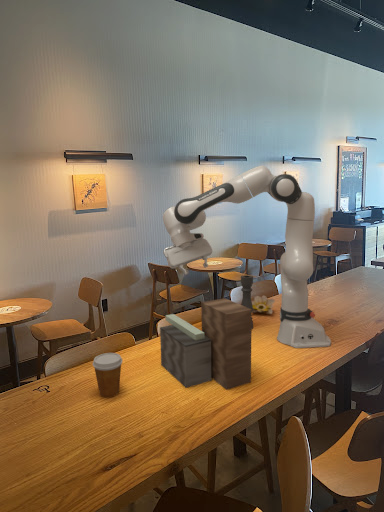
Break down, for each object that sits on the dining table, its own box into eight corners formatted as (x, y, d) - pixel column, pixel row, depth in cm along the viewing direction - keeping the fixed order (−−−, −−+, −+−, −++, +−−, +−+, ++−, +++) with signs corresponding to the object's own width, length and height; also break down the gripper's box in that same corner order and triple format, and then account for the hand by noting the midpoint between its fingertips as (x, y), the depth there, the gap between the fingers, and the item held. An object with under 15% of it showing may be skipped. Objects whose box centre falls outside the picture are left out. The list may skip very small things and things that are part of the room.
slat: (165, 320, 151) (165, 315, 151) (173, 318, 153) (173, 313, 152) (195, 340, 130) (195, 334, 130) (204, 338, 132) (204, 332, 132)
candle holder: (242, 330, 180) (243, 278, 176) (237, 326, 186) (238, 275, 182) (255, 329, 182) (255, 277, 178) (249, 324, 188) (250, 274, 184)
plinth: (202, 370, 141) (201, 302, 136) (224, 364, 145) (224, 298, 141) (226, 389, 127) (226, 314, 123) (250, 382, 132) (251, 309, 127)
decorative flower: (242, 312, 202) (245, 293, 202) (246, 311, 212) (249, 293, 213) (271, 317, 197) (273, 297, 197) (274, 315, 207) (276, 297, 208)
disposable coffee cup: (111, 382, 133) (109, 349, 131) (129, 391, 127) (128, 357, 125) (88, 393, 126) (86, 359, 124) (106, 403, 120) (104, 367, 118)
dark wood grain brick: (161, 365, 146) (160, 327, 143) (184, 359, 151) (183, 322, 148) (186, 387, 129) (185, 345, 126) (211, 380, 133) (211, 339, 131)
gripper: (163, 246, 159) (176, 276, 156) (205, 232, 167) (219, 260, 163) (160, 252, 165) (173, 280, 161) (201, 238, 172) (214, 265, 169)
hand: (196, 270), depth 162 cm, fingers open, 8 cm apart
